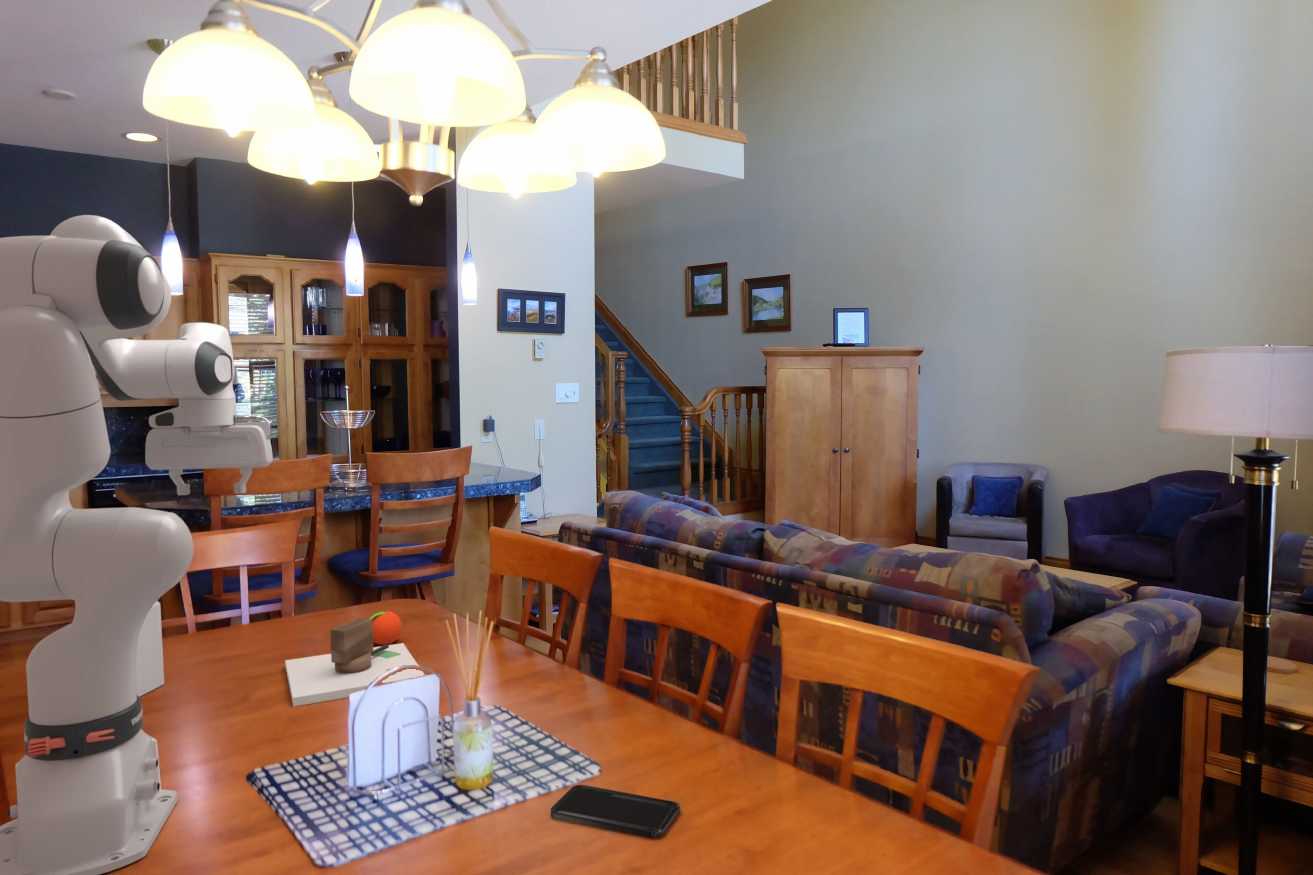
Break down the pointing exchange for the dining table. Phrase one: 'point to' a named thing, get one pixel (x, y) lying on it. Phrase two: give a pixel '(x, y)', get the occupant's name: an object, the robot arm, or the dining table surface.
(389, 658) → the dial plate
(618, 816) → the phone
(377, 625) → the clementine
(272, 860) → the dining table surface
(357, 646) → the tuning knob
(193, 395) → the robot arm
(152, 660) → the milk carton
